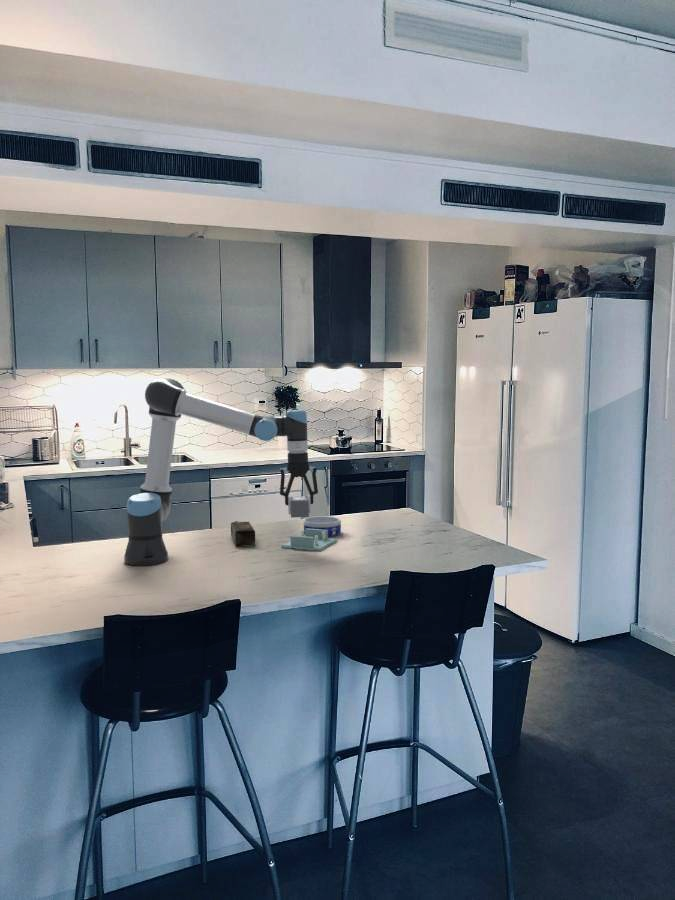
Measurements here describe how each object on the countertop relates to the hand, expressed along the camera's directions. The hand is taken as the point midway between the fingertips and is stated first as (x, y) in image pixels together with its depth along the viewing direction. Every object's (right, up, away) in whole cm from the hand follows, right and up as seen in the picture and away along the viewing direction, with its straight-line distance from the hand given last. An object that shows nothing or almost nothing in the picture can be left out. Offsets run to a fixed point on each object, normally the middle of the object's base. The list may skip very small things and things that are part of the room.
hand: (299, 513), depth 270 cm
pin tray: (+3, -13, +8) cm, 16 cm away
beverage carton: (-23, -13, +17) cm, 31 cm away
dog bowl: (+8, -11, +27) cm, 30 cm away
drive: (0, -1, 0) cm, 1 cm away
